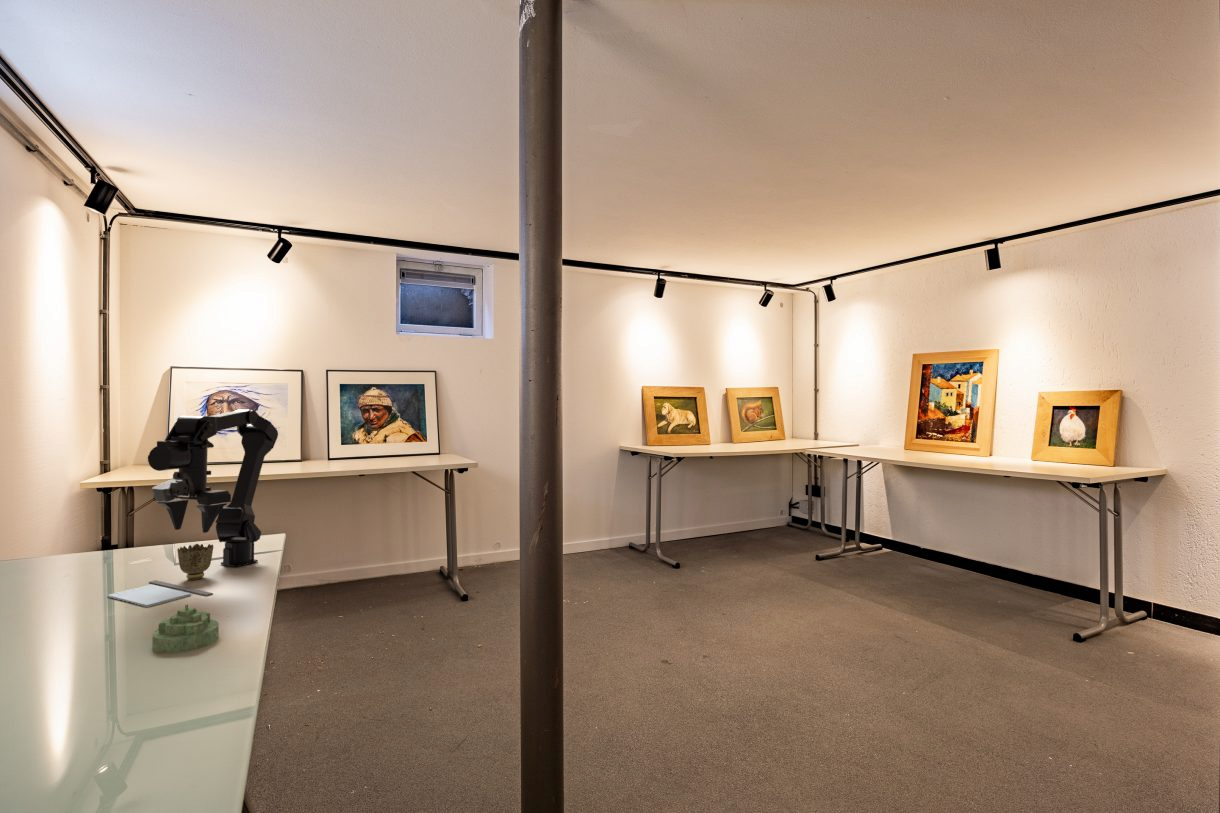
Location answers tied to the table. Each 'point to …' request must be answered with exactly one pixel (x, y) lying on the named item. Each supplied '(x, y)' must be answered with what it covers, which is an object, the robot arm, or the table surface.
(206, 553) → the cup
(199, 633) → the decorative artifact
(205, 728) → the table surface
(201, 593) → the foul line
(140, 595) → the board
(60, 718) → the table surface
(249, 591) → the table surface
